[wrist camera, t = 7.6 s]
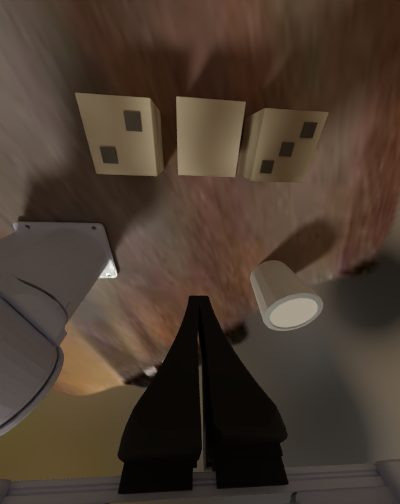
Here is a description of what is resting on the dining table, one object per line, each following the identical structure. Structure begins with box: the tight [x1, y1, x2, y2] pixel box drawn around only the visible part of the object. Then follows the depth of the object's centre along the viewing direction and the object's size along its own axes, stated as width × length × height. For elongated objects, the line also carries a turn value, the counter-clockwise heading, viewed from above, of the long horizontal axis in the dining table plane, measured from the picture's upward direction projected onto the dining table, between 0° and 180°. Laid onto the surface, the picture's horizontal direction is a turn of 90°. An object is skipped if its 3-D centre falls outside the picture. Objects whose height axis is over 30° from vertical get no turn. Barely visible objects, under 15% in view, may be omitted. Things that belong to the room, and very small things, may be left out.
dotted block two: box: [75, 93, 164, 176], centre depth 13 cm, size 4×5×5 cm
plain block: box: [176, 96, 246, 177], centre depth 14 cm, size 4×4×4 cm
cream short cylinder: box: [250, 260, 323, 331], centre depth 22 cm, size 7×7×7 cm
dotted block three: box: [237, 108, 329, 183], centre depth 14 cm, size 4×5×5 cm
